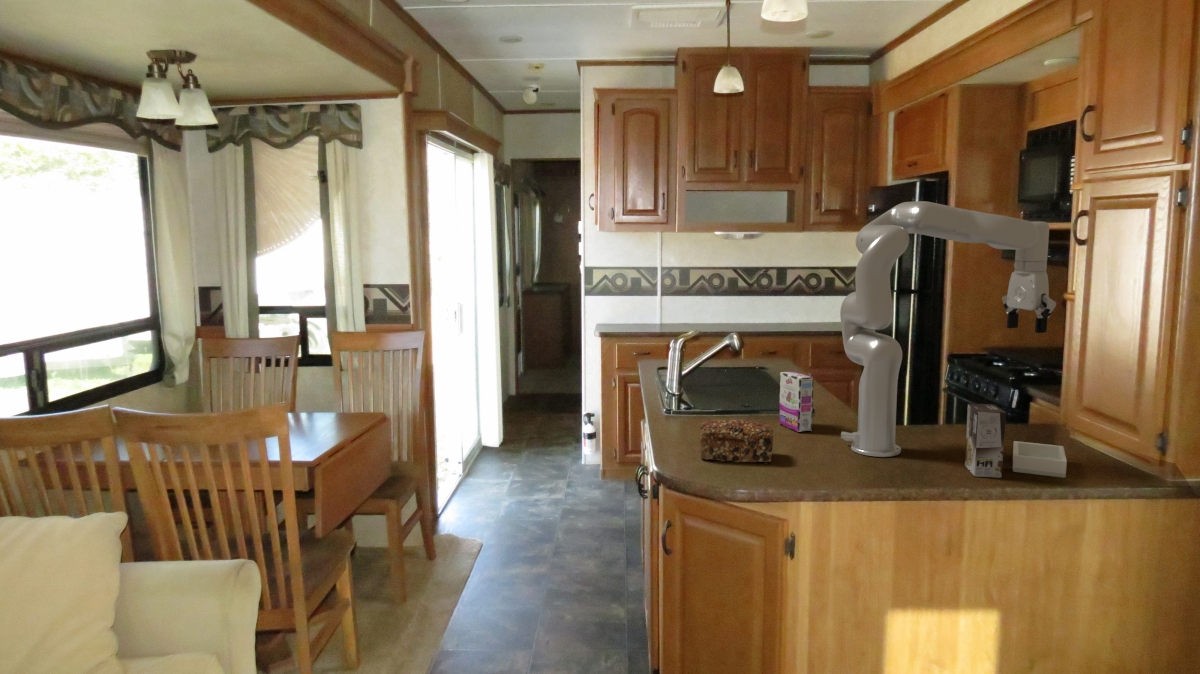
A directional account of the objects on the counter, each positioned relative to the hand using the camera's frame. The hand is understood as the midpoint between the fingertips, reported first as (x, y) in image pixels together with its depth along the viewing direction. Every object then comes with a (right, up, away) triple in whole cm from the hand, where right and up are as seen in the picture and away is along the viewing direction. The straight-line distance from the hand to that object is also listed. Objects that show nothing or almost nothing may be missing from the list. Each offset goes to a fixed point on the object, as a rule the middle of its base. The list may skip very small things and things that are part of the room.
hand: (1026, 330), depth 208 cm
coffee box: (-23, -35, -22) cm, 47 cm away
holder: (-8, -34, -19) cm, 40 cm away
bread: (-81, -34, -7) cm, 88 cm away
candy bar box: (-58, -29, +20) cm, 68 cm away
